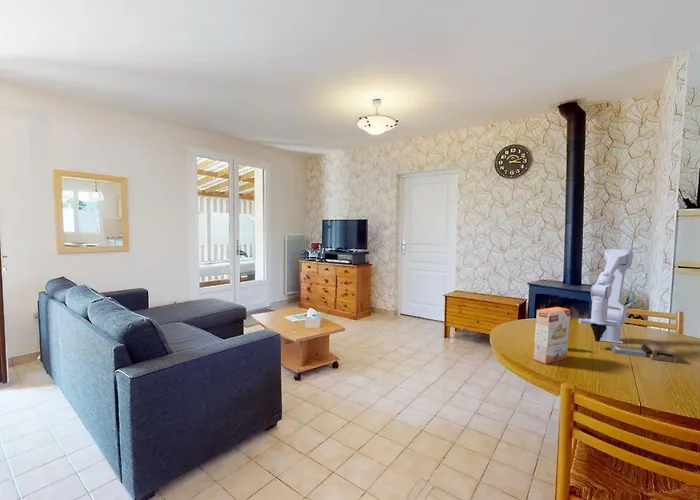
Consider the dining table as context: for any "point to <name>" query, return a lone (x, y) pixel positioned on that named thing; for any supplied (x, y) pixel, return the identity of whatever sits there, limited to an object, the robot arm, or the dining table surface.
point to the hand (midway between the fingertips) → (597, 340)
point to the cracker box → (551, 334)
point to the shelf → (659, 351)
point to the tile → (627, 350)
